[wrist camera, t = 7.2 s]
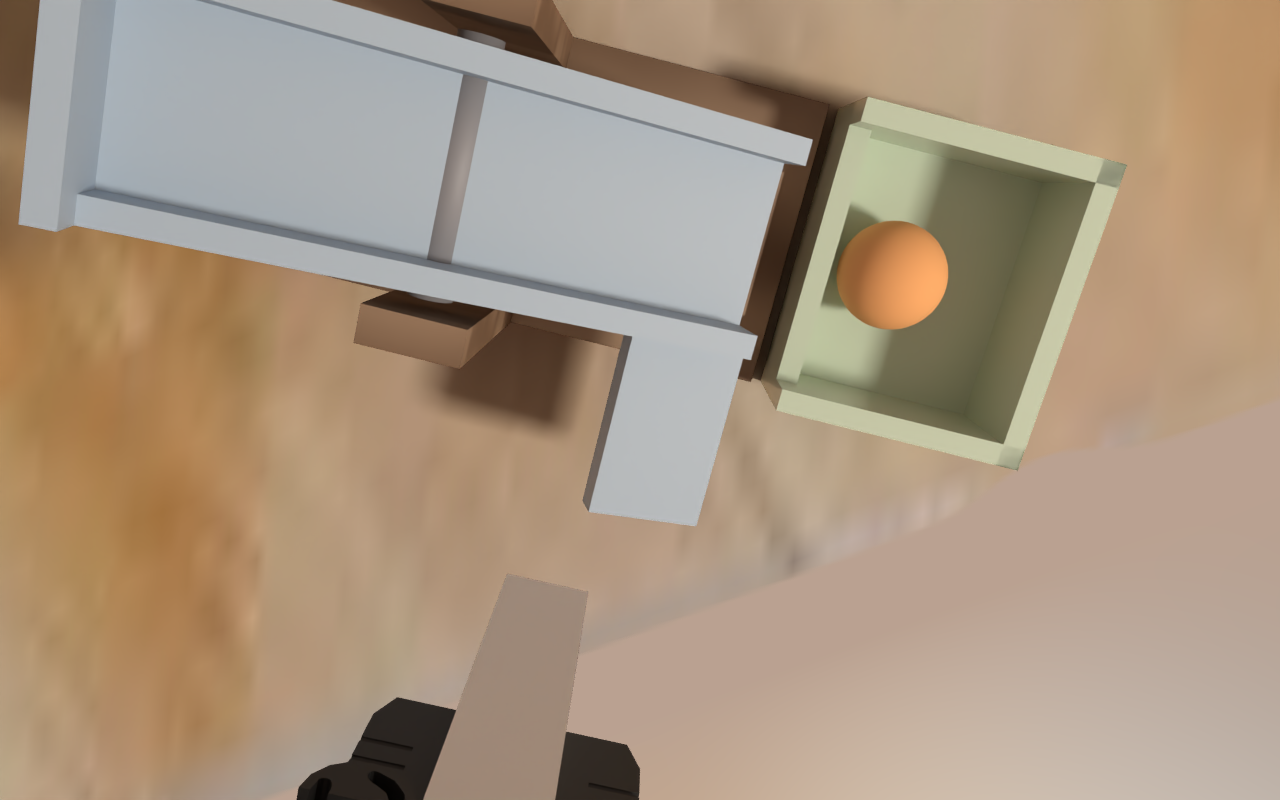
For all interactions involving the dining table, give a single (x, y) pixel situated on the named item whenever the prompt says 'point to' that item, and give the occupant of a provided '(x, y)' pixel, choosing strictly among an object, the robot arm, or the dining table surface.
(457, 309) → the stand
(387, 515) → the dining table surface
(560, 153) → the lever
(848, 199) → the dish
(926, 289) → the ball
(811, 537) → the dining table surface
